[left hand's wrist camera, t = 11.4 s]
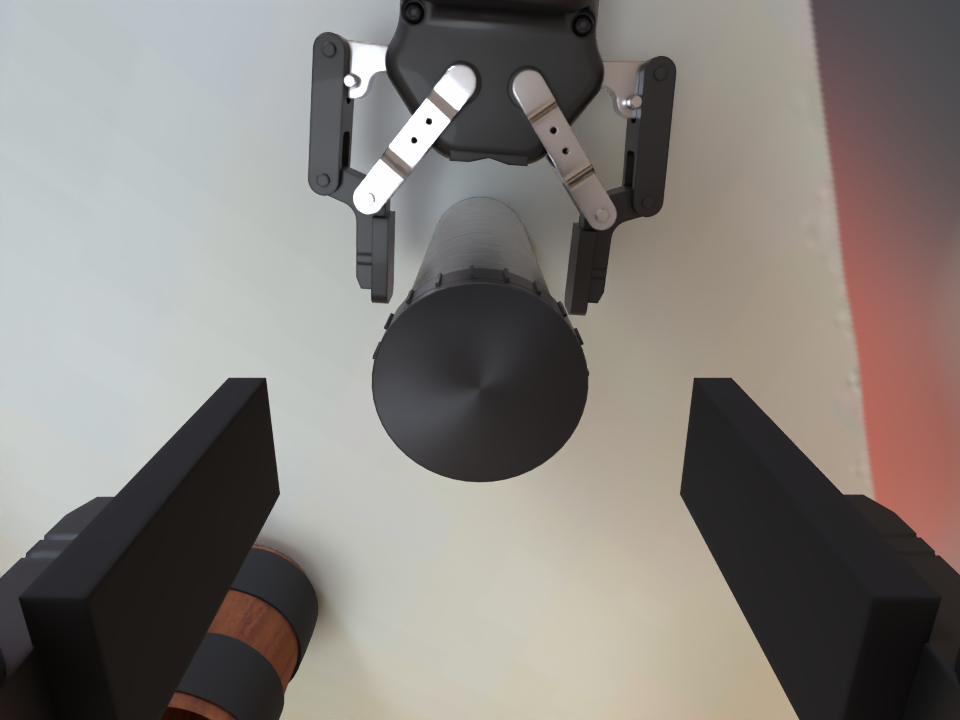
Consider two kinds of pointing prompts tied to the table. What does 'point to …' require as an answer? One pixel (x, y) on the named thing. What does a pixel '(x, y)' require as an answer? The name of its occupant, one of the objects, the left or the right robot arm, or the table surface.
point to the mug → (250, 644)
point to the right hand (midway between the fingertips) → (478, 304)
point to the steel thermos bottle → (480, 242)
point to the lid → (480, 375)
